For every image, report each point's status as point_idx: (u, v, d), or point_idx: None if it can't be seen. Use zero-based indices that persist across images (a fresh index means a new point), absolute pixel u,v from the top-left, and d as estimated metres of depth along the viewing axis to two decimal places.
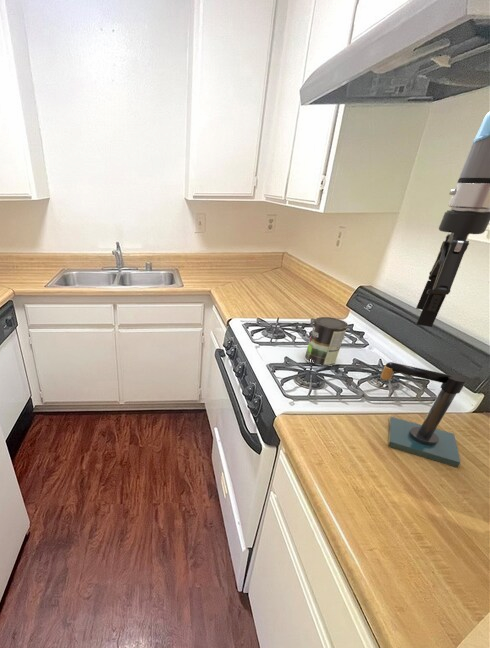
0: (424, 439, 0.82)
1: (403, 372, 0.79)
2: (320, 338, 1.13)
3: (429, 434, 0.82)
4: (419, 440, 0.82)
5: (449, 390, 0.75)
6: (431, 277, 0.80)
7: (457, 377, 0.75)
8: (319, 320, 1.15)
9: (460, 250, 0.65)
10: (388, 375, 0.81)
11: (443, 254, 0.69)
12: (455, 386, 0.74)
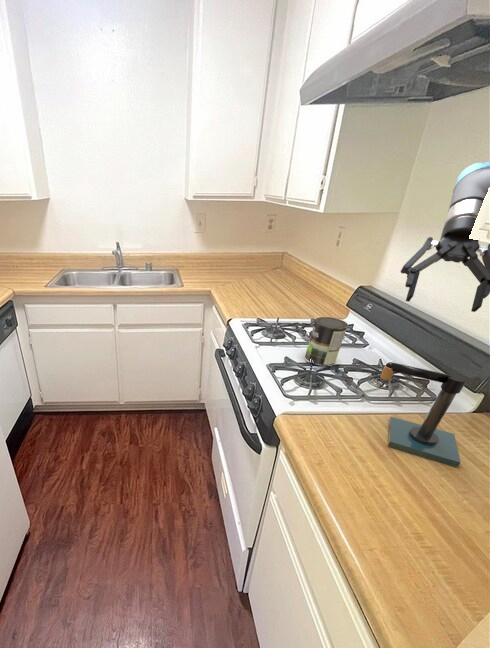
0: (424, 439, 0.82)
1: (403, 372, 0.79)
2: (320, 338, 1.13)
3: (429, 434, 0.82)
4: (419, 440, 0.82)
5: (449, 390, 0.75)
6: (481, 283, 0.82)
7: (457, 377, 0.75)
8: (319, 320, 1.15)
9: (424, 244, 0.86)
10: (388, 375, 0.81)
11: None
12: (455, 386, 0.74)
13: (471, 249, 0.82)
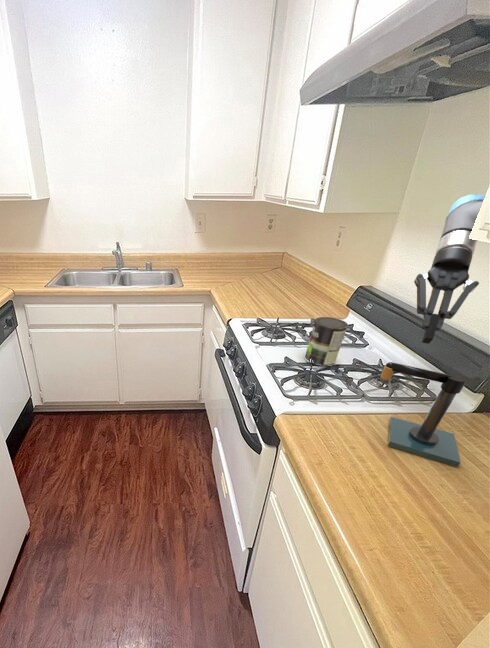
0: (424, 439, 0.82)
1: (403, 372, 0.79)
2: (320, 338, 1.13)
3: (429, 434, 0.82)
4: (419, 440, 0.82)
5: (449, 390, 0.75)
6: None
7: (457, 377, 0.75)
8: (319, 320, 1.15)
9: (418, 282, 0.87)
10: (388, 375, 0.81)
11: None
12: (455, 386, 0.74)
13: (455, 280, 0.83)
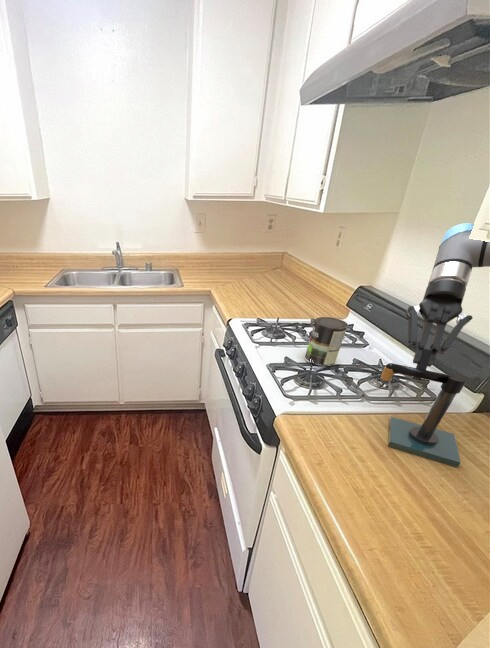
0: (424, 439, 0.82)
1: (403, 373, 0.78)
2: (320, 338, 1.13)
3: (429, 434, 0.82)
4: (419, 440, 0.82)
5: (449, 390, 0.75)
6: (430, 349, 0.81)
7: (457, 377, 0.75)
8: (319, 320, 1.15)
9: (409, 314, 0.83)
10: (388, 376, 0.80)
11: None
12: (456, 386, 0.74)
13: (447, 314, 0.80)
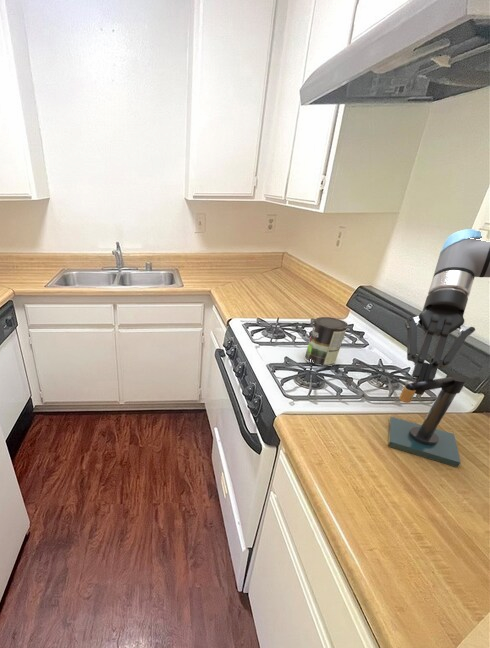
0: (424, 439, 0.82)
1: (423, 390, 0.72)
2: (320, 338, 1.13)
3: (429, 434, 0.82)
4: (419, 440, 0.82)
5: (457, 391, 0.75)
6: (430, 362, 0.77)
7: (456, 377, 0.75)
8: (319, 320, 1.15)
9: (408, 325, 0.80)
10: (411, 397, 0.72)
11: None
12: (462, 386, 0.74)
13: (449, 326, 0.76)
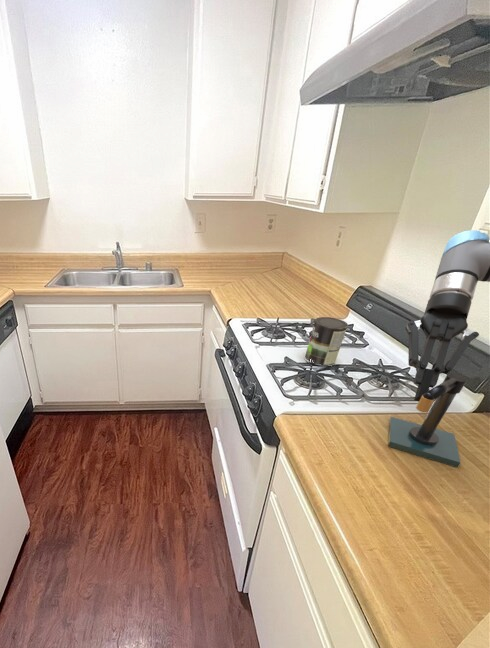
0: (424, 439, 0.82)
1: (438, 396, 0.70)
2: (320, 338, 1.13)
3: (429, 434, 0.82)
4: (419, 440, 0.82)
5: (459, 391, 0.75)
6: (432, 368, 0.74)
7: (456, 377, 0.75)
8: (319, 320, 1.15)
9: (409, 329, 0.76)
10: (430, 406, 0.70)
11: None
12: (463, 385, 0.74)
13: (451, 330, 0.72)
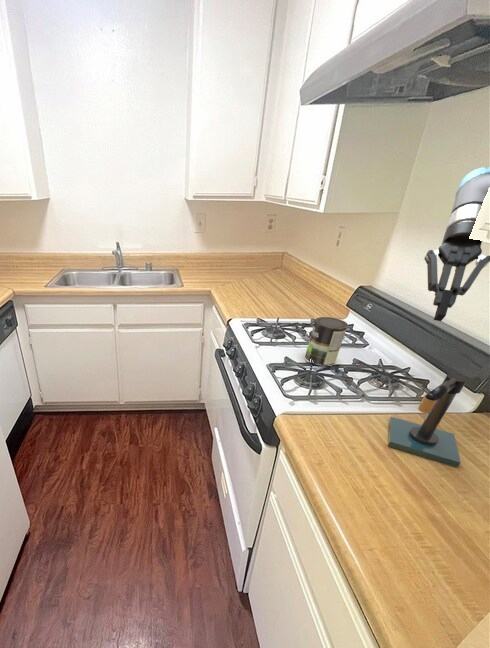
0: (424, 439, 0.82)
1: (440, 397, 0.70)
2: (320, 338, 1.13)
3: (429, 434, 0.82)
4: (419, 440, 0.82)
5: (459, 391, 0.75)
6: None
7: (456, 377, 0.75)
8: (319, 320, 1.15)
9: (429, 258, 0.84)
10: (432, 407, 0.70)
11: None
12: (463, 385, 0.74)
13: (467, 255, 0.80)
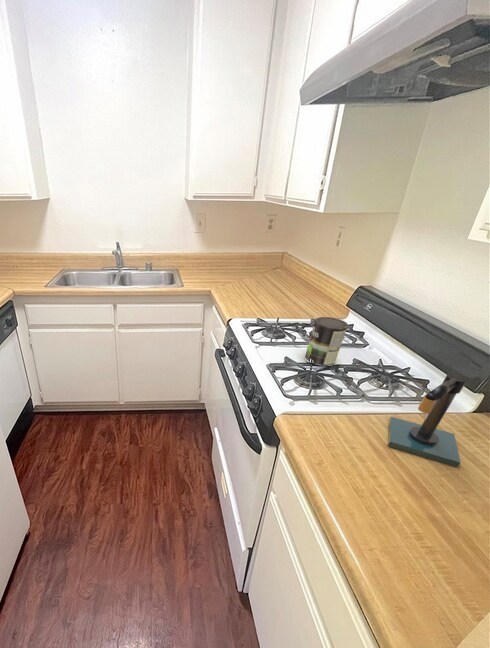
0: (424, 439, 0.82)
1: (440, 397, 0.70)
2: (320, 338, 1.13)
3: (429, 434, 0.82)
4: (419, 440, 0.82)
5: (459, 391, 0.75)
6: None
7: (456, 377, 0.75)
8: (319, 320, 1.15)
9: None
10: (432, 407, 0.70)
11: None
12: (463, 385, 0.74)
13: None
